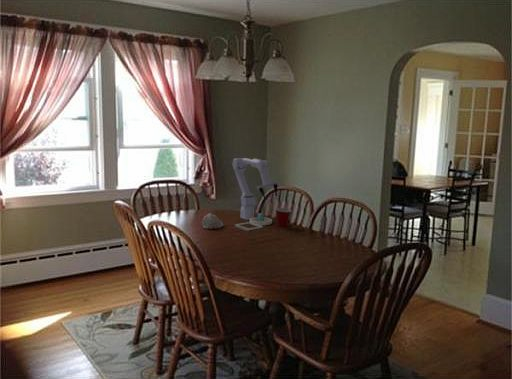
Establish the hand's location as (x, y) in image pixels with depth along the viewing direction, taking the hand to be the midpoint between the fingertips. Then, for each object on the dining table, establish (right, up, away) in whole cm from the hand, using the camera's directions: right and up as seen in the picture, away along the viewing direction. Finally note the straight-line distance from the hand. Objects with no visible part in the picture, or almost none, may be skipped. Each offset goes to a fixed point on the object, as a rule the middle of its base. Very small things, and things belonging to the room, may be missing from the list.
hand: (270, 197), depth 306 cm
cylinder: (-6, -17, +9) cm, 20 cm away
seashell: (-39, -19, -2) cm, 43 cm away
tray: (-14, -20, -3) cm, 24 cm away
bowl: (-6, -18, +9) cm, 21 cm away
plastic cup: (+8, -19, +2) cm, 21 cm away
